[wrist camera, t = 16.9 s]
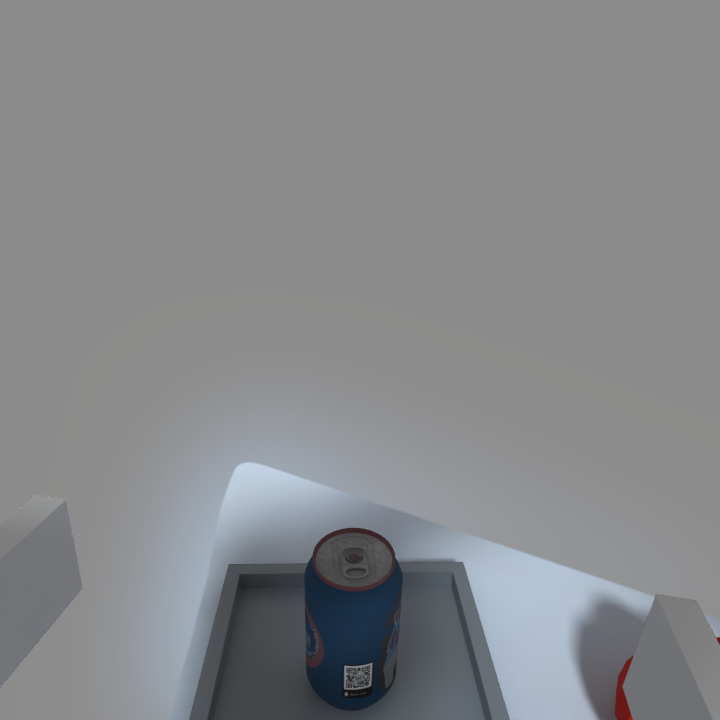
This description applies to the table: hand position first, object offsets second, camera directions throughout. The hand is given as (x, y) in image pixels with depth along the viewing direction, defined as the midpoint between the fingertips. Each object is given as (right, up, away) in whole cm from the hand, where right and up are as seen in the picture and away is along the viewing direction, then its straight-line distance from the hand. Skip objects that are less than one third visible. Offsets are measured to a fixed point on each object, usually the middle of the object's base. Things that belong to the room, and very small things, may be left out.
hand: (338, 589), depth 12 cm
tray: (0, -20, +30) cm, 36 cm away
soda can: (0, -20, +29) cm, 35 cm away
